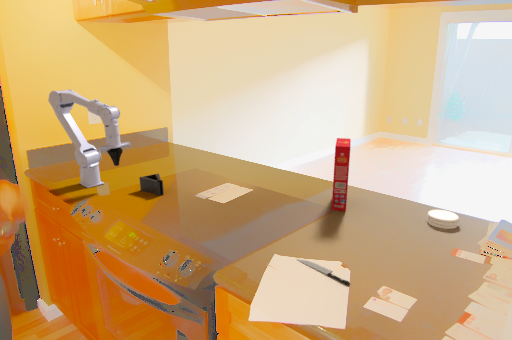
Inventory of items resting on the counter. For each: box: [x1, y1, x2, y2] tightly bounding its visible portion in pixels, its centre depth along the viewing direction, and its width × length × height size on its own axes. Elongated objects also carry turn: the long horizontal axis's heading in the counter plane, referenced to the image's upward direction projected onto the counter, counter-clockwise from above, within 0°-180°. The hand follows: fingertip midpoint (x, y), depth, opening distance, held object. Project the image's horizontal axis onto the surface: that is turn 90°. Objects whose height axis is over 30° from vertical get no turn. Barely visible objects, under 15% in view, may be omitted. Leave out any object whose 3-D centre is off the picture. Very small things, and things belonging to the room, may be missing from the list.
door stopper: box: [139, 173, 165, 197], centre depth 162 cm, size 9×6×12 cm
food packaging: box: [331, 137, 352, 212], centre depth 146 cm, size 15×5×25 cm, turn 166°
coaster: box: [426, 209, 460, 230], centre depth 131 cm, size 10×10×4 cm
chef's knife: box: [296, 259, 351, 286], centre depth 103 cm, size 19×1×3 cm
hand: (116, 165), depth 165 cm, fingers closed
